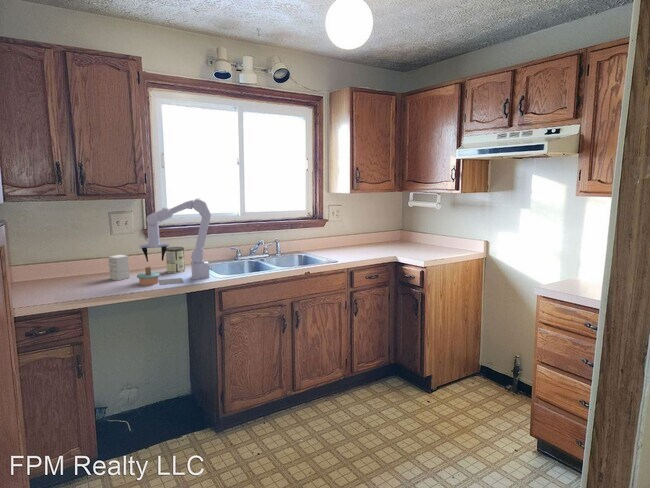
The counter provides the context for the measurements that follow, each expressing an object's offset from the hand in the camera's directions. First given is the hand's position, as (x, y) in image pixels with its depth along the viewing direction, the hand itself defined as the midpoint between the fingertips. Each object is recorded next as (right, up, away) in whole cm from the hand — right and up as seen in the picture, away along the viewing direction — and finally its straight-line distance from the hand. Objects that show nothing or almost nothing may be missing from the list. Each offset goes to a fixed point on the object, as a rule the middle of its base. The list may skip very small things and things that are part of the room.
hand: (155, 260), depth 231 cm
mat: (+10, -11, -4) cm, 15 cm away
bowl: (0, -12, -7) cm, 14 cm away
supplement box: (-21, -10, +3) cm, 23 cm away
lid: (0, -8, -8) cm, 11 cm away
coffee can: (+4, -7, +22) cm, 23 cm away
